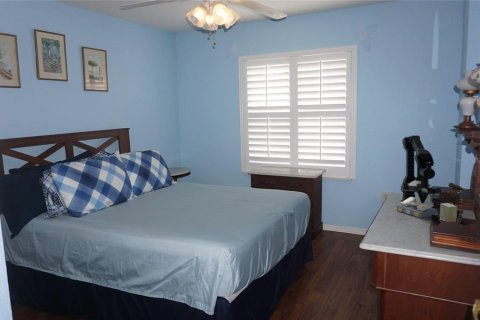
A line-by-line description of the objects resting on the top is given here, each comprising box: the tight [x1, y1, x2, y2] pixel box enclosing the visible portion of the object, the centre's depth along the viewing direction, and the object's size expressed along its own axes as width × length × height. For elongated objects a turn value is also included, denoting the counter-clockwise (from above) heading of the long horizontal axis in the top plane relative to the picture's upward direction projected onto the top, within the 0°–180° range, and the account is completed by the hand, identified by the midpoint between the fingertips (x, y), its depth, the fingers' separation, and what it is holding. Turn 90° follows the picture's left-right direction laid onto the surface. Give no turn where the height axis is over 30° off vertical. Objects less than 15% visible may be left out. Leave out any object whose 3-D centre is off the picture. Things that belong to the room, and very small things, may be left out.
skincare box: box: [439, 203, 458, 222], centre depth 167 cm, size 6×4×12 cm
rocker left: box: [400, 197, 417, 207], centre depth 201 cm, size 4×8×2 cm, turn 112°
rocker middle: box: [409, 201, 424, 206], centre depth 196 cm, size 4×8×2 cm, turn 112°
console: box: [396, 204, 438, 219], centre depth 196 cm, size 16×12×4 cm
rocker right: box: [417, 201, 434, 211], centre depth 191 cm, size 4×8×2 cm, turn 112°
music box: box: [431, 182, 468, 218], centre depth 179 cm, size 15×11×20 cm
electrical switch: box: [430, 193, 447, 212], centre depth 200 cm, size 9×5×9 cm, turn 57°
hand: (422, 203), depth 197 cm, fingers closed, pressing on rocker middle
